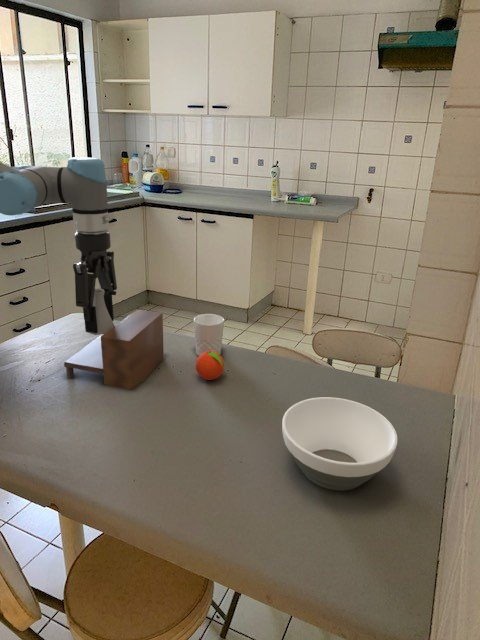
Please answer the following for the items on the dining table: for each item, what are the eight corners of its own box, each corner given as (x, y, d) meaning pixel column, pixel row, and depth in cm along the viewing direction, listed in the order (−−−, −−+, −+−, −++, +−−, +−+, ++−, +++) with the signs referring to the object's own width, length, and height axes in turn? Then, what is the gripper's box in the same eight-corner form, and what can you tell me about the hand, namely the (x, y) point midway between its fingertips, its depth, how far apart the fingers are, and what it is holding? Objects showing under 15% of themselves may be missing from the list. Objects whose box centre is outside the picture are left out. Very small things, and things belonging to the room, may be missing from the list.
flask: (79, 328, 112) (75, 289, 109) (107, 321, 117) (104, 284, 113) (93, 338, 107) (89, 297, 104) (121, 330, 112) (118, 291, 108)
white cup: (222, 360, 122) (223, 325, 118) (192, 359, 122) (192, 324, 118) (223, 347, 129) (224, 314, 125) (195, 346, 129) (195, 313, 125)
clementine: (232, 380, 113) (234, 353, 110) (212, 390, 108) (212, 362, 105) (210, 368, 118) (211, 343, 115) (189, 377, 113) (189, 351, 110)
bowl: (408, 474, 84) (418, 430, 80) (348, 532, 71) (356, 483, 67) (321, 426, 96) (326, 386, 93) (256, 468, 83) (258, 423, 80)
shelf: (66, 381, 109) (60, 330, 104) (105, 349, 125) (101, 304, 120) (132, 393, 105) (129, 341, 100) (163, 358, 121) (162, 312, 116)
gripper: (82, 241, 93) (91, 344, 102) (128, 224, 111) (133, 313, 120) (49, 238, 95) (61, 340, 104) (100, 222, 113) (106, 310, 122)
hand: (100, 325), depth 112 cm, fingers closed on flask, 7 cm apart
